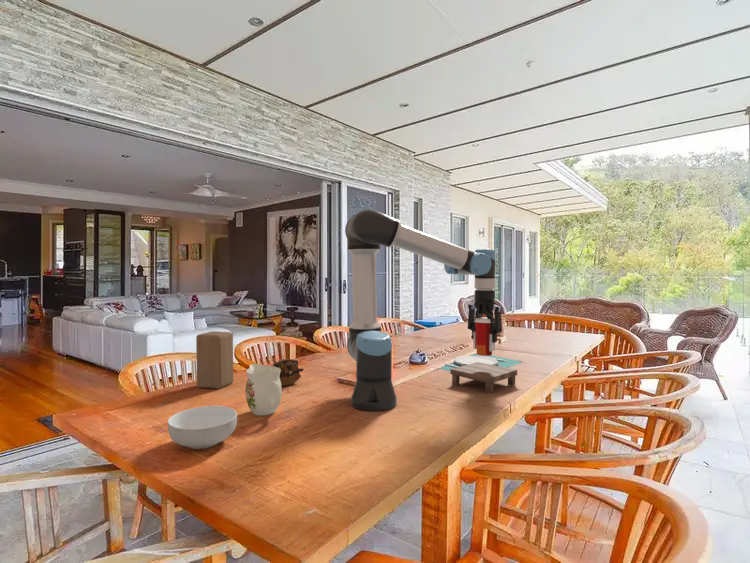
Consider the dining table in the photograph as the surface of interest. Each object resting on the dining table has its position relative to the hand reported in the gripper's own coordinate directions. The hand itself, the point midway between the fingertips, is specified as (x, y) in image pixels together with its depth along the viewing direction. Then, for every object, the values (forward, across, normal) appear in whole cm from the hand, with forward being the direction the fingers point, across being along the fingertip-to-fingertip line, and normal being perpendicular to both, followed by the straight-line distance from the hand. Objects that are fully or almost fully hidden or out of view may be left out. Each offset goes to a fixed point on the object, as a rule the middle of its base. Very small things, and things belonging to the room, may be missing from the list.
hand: (484, 349), depth 168 cm
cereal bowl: (+14, +17, +101) cm, 103 cm away
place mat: (+15, +24, -29) cm, 40 cm away
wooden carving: (+14, +50, +57) cm, 77 cm away
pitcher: (+14, +27, +78) cm, 84 cm away
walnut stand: (+14, 0, 0) cm, 14 cm away
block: (+14, +68, +77) cm, 104 cm away
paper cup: (+2, 0, 0) cm, 2 cm away
